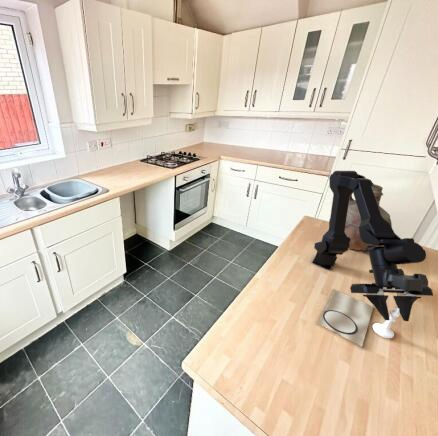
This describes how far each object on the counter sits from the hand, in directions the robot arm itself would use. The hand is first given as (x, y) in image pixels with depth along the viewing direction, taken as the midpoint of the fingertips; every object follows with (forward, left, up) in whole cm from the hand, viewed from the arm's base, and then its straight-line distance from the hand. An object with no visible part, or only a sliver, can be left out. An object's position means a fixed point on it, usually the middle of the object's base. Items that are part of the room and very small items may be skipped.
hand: (396, 320), depth 70 cm
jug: (-18, +49, -7) cm, 53 cm away
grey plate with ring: (-10, 0, -7) cm, 12 cm away
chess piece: (-1, +1, -7) cm, 7 cm away
